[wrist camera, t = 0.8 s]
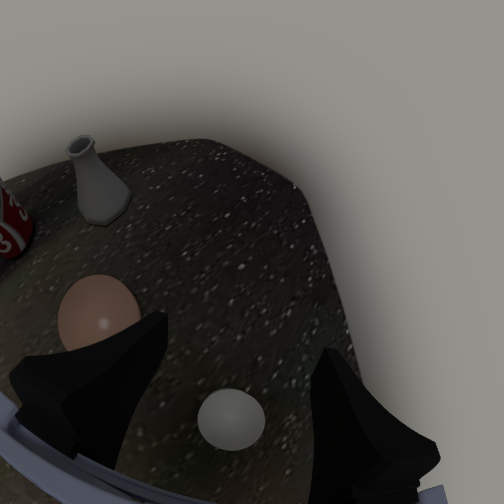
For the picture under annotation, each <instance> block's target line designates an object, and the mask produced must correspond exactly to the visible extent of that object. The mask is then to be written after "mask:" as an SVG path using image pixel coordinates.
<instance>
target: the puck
mask: <svg viewBox="0 0 504 504" xmlns="http://www.w3.org/2000/svg"><path fill="white" fill-rule="evenodd" d="M141 319H143V313H142V309H141V307H140V305H139V303H138V301H137V299H136V298H135V297H134V295H133V294H132V293H131V292H130V291H129V290H128V289H127V287H126V286H125V285H124V284H123V283H121V282H120V281H119V280H117V279H115V278H113V277H110V276H106V275H92V276H88V277H85V278H83V279H81V280H79V281H78V282H77V283H75V284H74V285H73V286H72V287H71V288H70V289H69V290H68V292H67V293H66V295H65V296H64V298H63V300H62V302H61V305H60V309H59V313H58V329H59V334H60V337H61V340H62V342H63V345H64V346H65V348H66V349H67V351H71V350H75V349H78V348H82V347H86V346H89V345H91V344H94V343H97V342H99V341H102V340H104V339H106V338H108V337H110V336H112V335H114V334H116V333H118V332H120V331H122V330H124V329H126V328H127V327H129V326H131V325H133V324H134V323H136V322H138V321H139V320H141Z"/></svg>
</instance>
